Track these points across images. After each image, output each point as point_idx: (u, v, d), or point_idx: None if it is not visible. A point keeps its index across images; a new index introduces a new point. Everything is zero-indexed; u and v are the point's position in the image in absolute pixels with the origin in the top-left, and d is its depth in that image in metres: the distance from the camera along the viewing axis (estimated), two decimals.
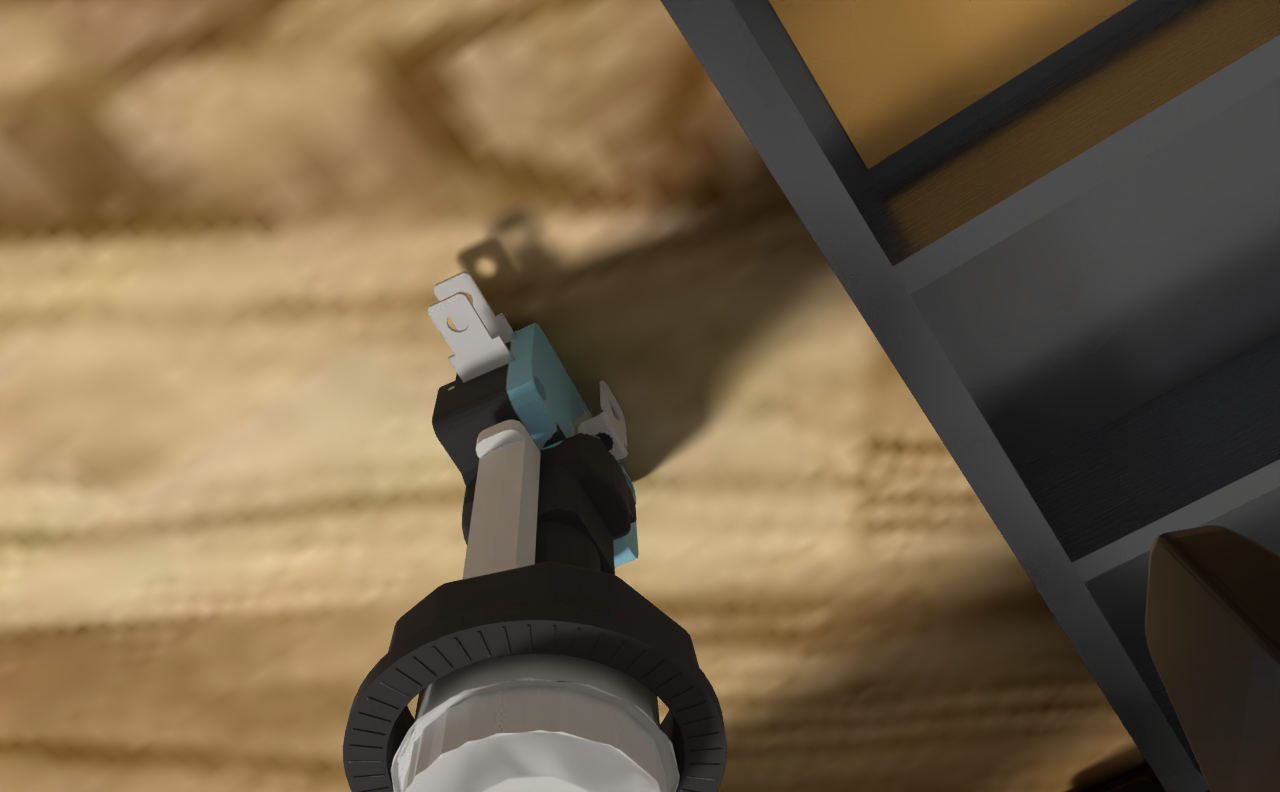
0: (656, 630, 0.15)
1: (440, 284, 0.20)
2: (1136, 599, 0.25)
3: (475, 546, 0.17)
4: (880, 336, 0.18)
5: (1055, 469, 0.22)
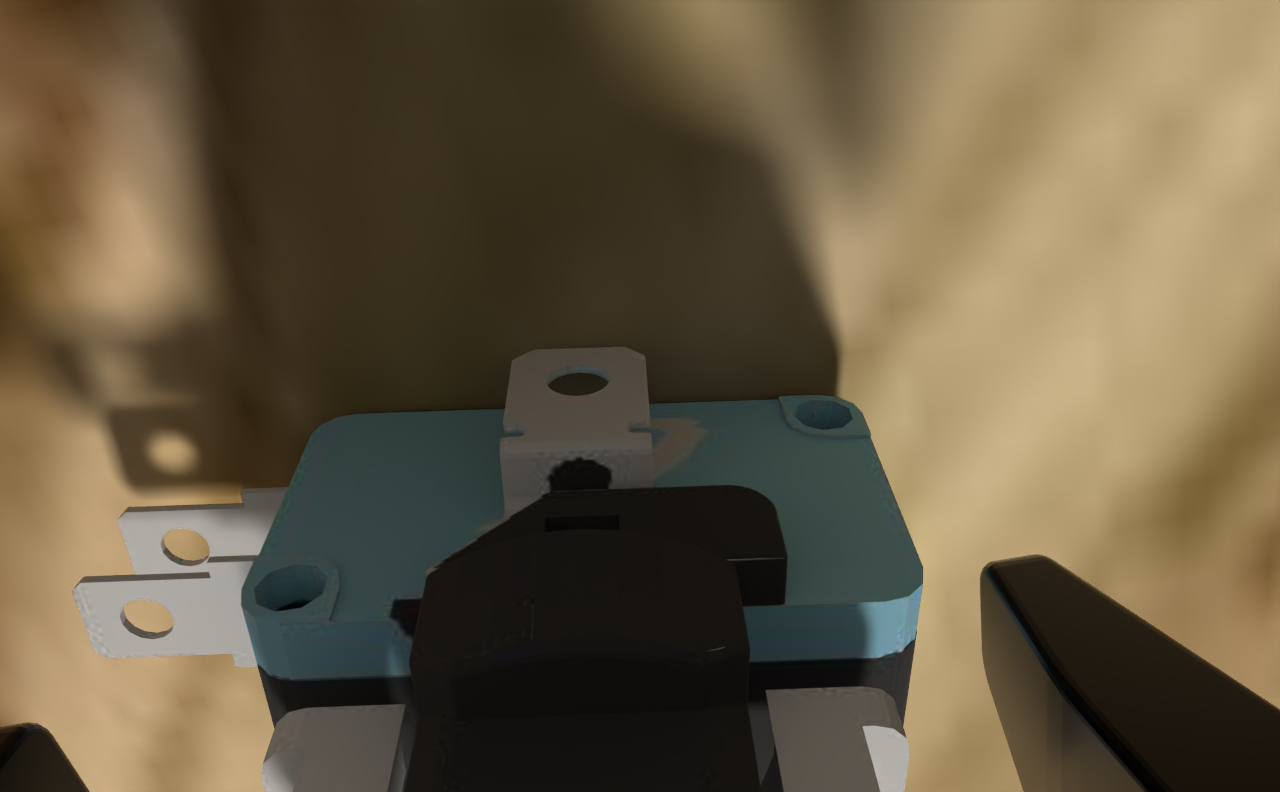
0: None
1: (133, 567, 0.09)
2: None
3: None
4: None
5: None
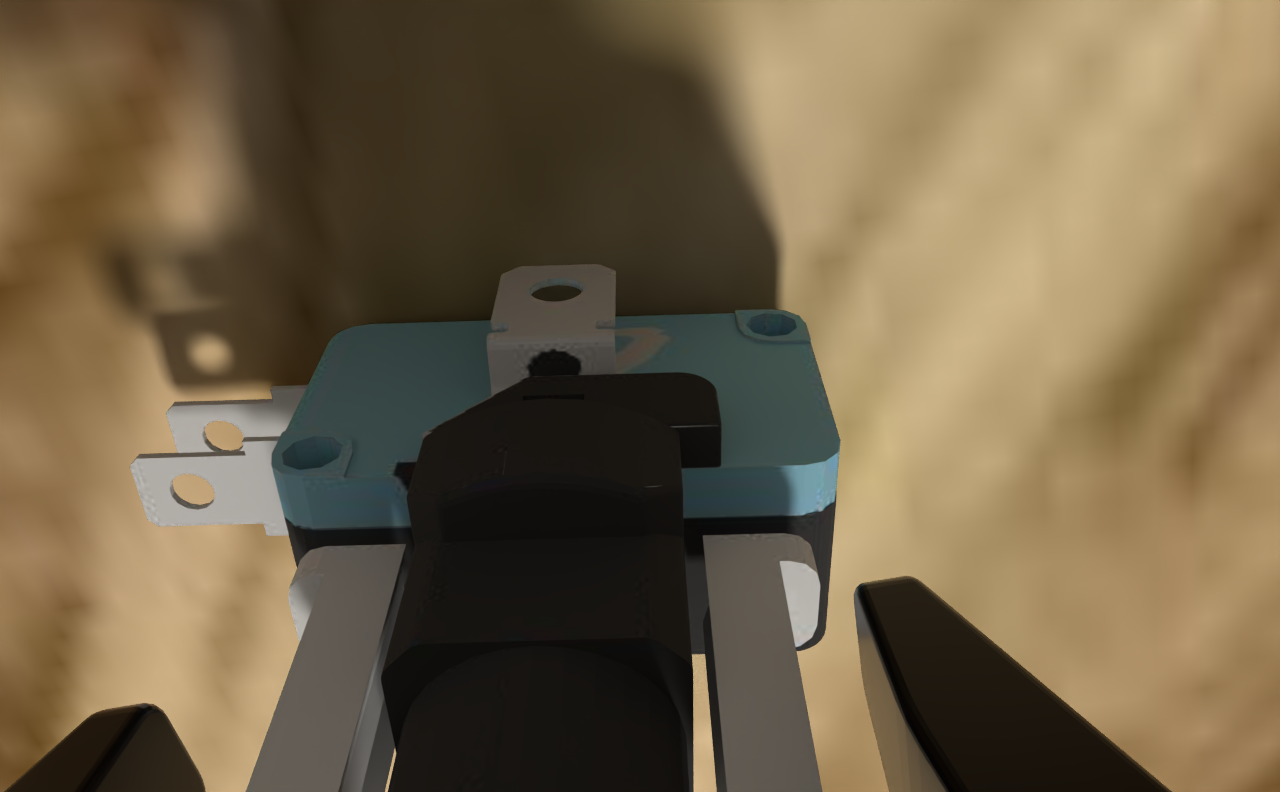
0: None
1: None
2: None
3: None
4: None
5: None
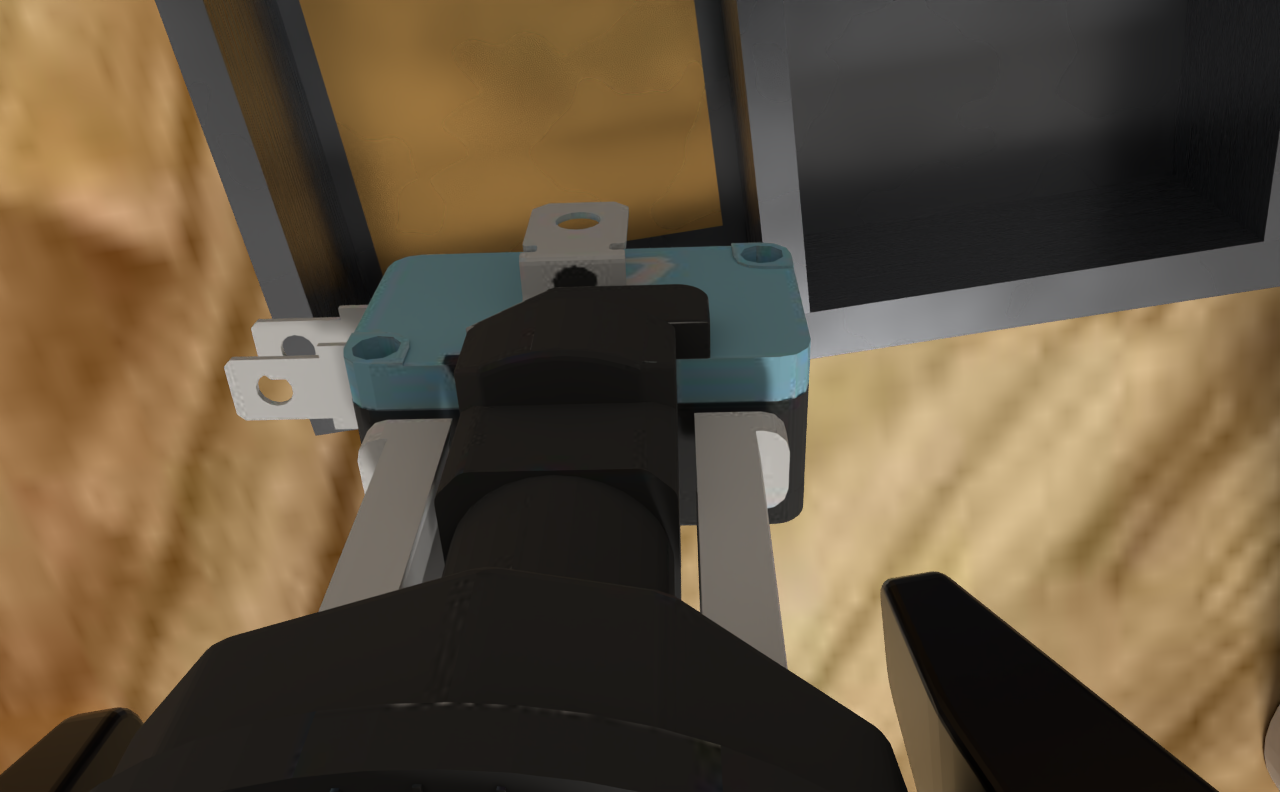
0: (314, 681, 0.05)
1: None
2: None
3: None
4: (838, 351, 0.17)
5: (1189, 146, 0.18)
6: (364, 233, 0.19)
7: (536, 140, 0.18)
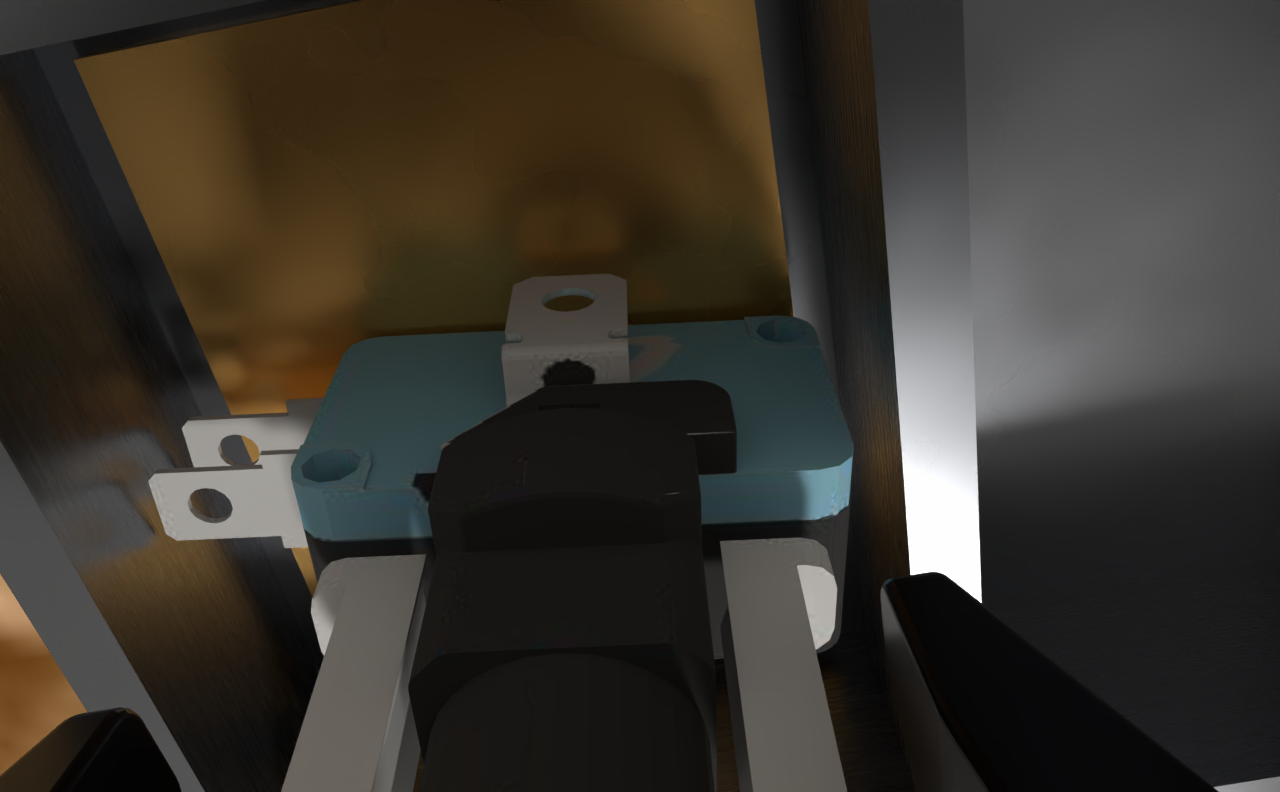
0: None
1: None
2: None
3: None
4: None
5: None
6: None
7: None
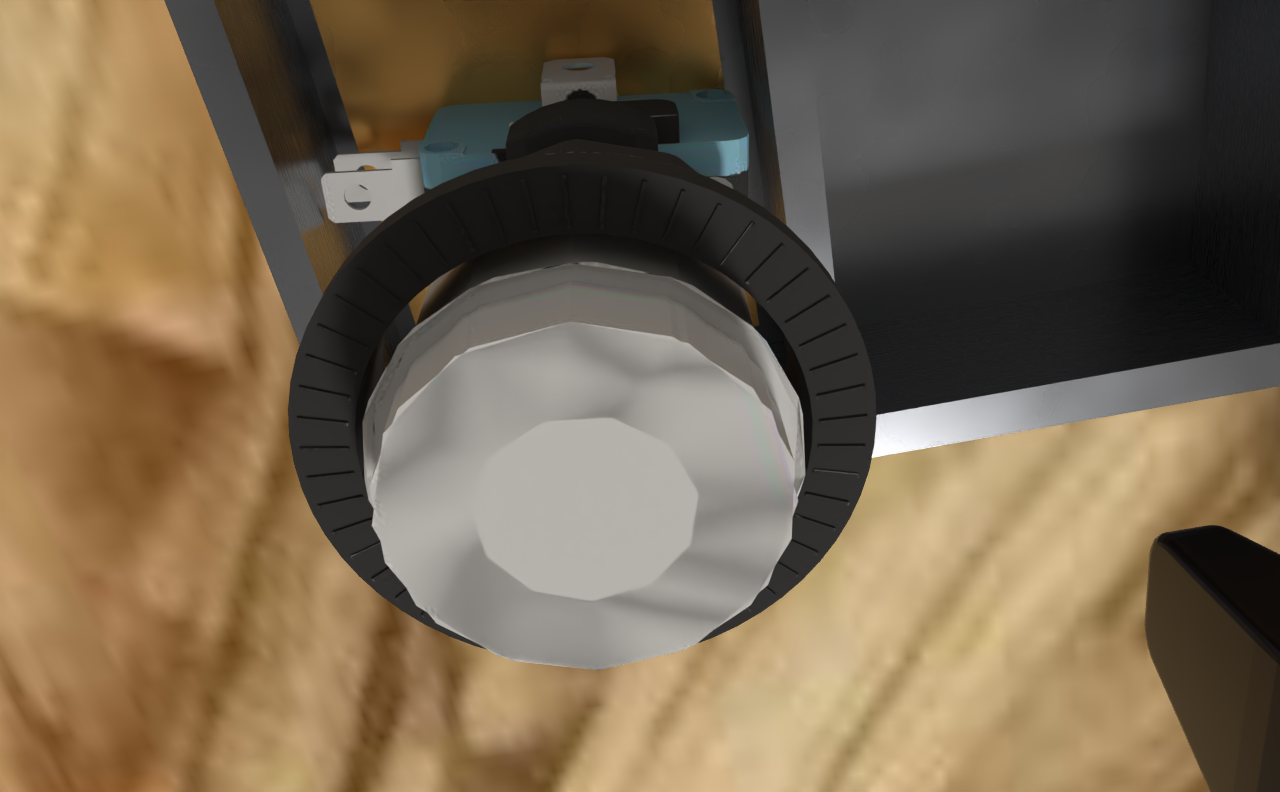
0: None
1: None
2: None
3: None
4: (876, 453, 0.17)
5: (1207, 240, 0.19)
6: None
7: None
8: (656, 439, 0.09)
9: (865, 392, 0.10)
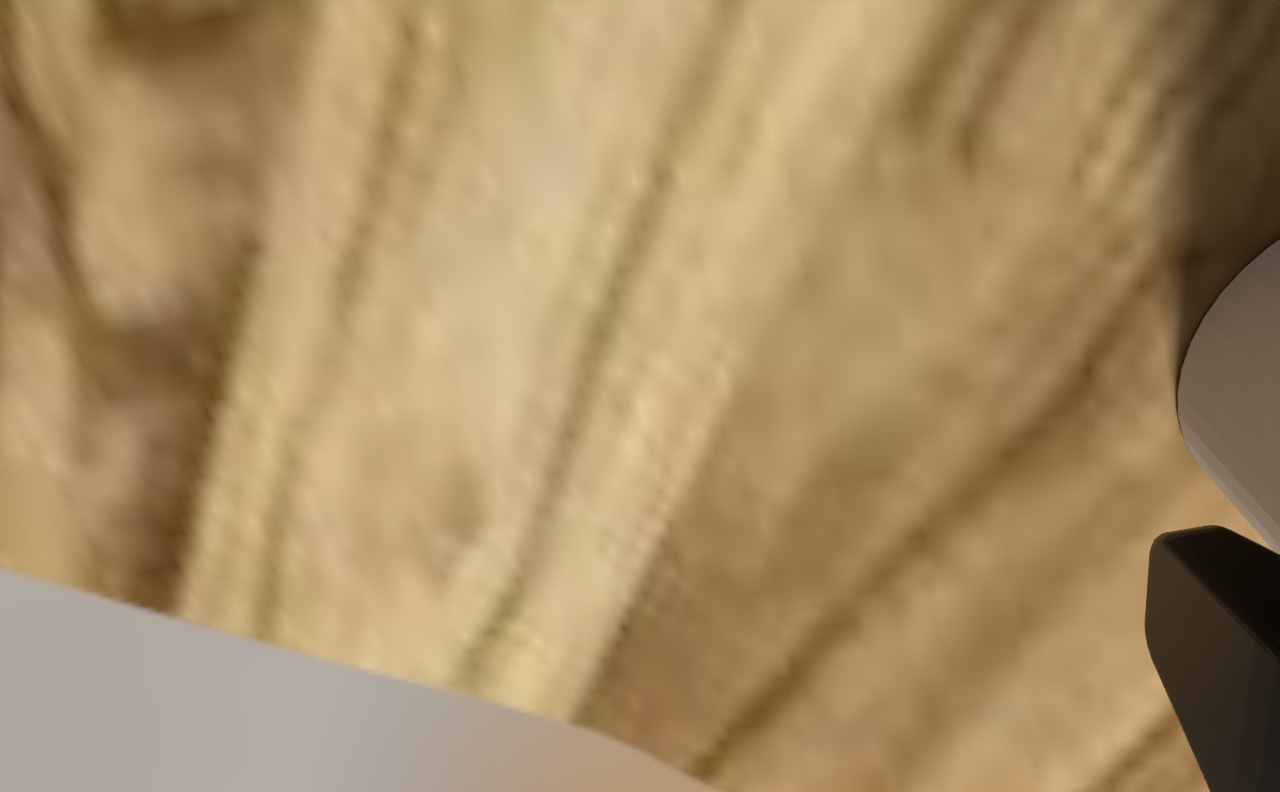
0: None
1: None
2: None
3: None
4: None
5: None
6: None
7: None
8: None
9: None
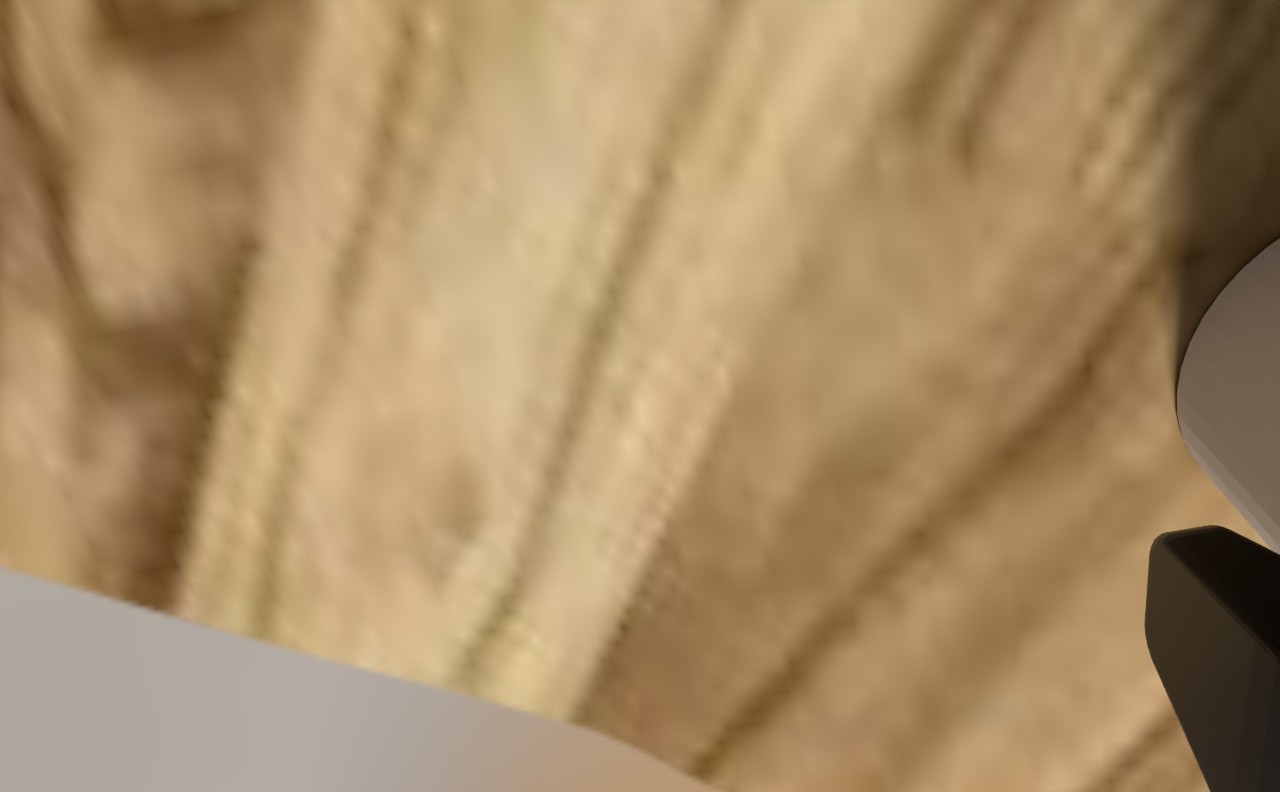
0: None
1: None
2: None
3: None
4: None
5: None
6: None
7: None
8: None
9: None
